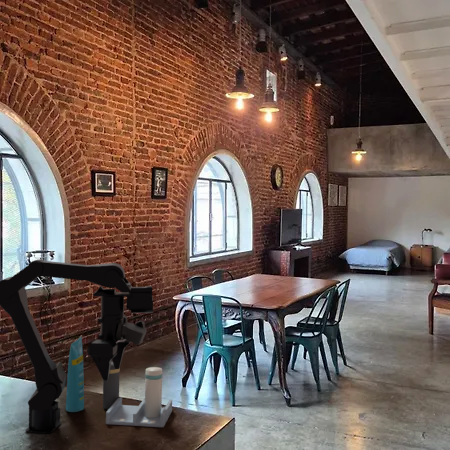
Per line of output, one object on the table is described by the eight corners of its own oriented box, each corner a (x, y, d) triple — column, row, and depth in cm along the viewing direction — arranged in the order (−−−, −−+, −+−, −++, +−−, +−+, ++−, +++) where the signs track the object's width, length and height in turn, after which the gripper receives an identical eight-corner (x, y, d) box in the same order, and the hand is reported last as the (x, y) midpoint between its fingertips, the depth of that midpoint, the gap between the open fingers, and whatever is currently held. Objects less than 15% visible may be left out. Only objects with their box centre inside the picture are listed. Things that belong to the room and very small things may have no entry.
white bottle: (144, 418, 129) (145, 372, 129) (144, 412, 134) (145, 367, 134) (162, 417, 130) (163, 371, 130) (160, 411, 135) (162, 366, 135)
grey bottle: (100, 409, 137) (100, 365, 137) (105, 403, 142) (106, 361, 142) (116, 410, 137) (116, 366, 137) (121, 404, 141) (121, 362, 141)
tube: (80, 414, 133) (81, 343, 133) (62, 414, 133) (63, 342, 133) (87, 404, 141) (88, 336, 141) (69, 403, 141) (70, 336, 140)
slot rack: (105, 424, 128) (106, 412, 127) (119, 407, 138) (119, 397, 138) (163, 427, 126) (163, 415, 126) (172, 410, 137) (172, 399, 137)
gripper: (133, 321, 116) (132, 388, 117) (152, 307, 135) (151, 365, 135) (87, 320, 117) (86, 386, 118) (112, 306, 136) (111, 363, 136)
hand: (111, 374), depth 127 cm, fingers open, 9 cm apart
